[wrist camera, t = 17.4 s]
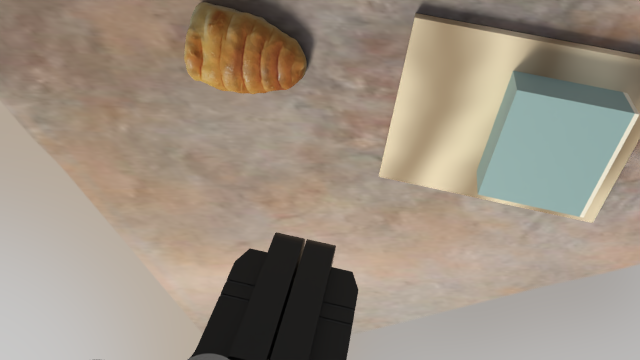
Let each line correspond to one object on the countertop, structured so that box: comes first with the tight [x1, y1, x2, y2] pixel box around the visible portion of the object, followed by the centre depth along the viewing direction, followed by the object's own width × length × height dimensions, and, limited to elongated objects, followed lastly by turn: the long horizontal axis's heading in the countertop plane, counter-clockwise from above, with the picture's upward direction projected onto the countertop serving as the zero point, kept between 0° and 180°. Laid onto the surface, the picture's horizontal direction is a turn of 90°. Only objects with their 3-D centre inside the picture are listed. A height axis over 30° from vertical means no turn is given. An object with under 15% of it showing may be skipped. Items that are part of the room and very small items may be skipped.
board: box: [379, 13, 640, 223], centre depth 42 cm, size 18×14×1 cm
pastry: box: [184, 2, 307, 94], centre depth 42 cm, size 9×7×4 cm
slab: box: [477, 71, 640, 218], centre depth 40 cm, size 3×9×8 cm
